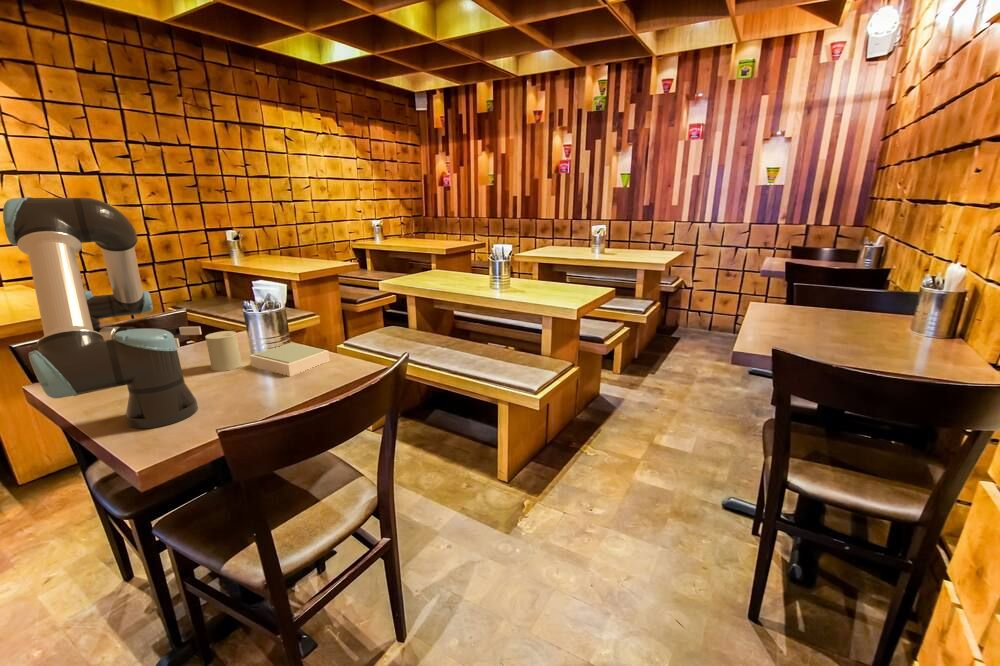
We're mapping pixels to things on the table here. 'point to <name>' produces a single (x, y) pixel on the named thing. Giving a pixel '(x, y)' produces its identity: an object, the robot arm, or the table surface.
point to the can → (223, 350)
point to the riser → (289, 359)
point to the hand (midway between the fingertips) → (189, 336)
